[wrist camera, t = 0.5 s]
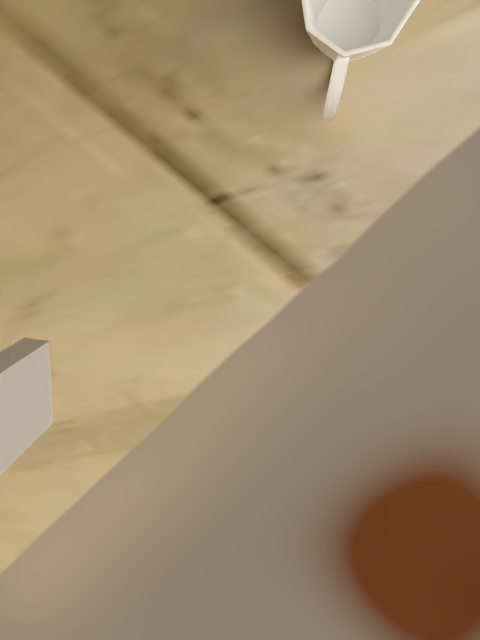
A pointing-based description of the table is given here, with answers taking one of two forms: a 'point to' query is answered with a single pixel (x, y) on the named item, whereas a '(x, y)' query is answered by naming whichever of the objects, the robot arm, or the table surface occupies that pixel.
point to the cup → (352, 34)
